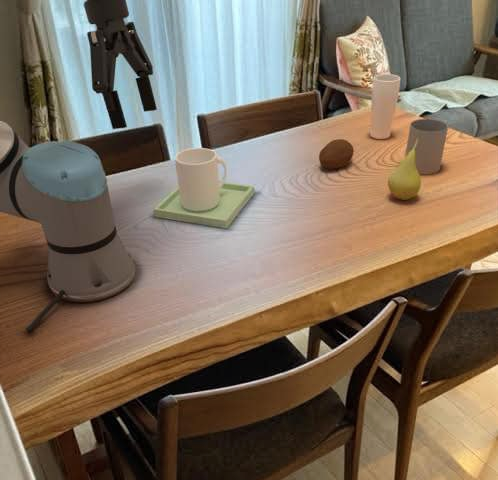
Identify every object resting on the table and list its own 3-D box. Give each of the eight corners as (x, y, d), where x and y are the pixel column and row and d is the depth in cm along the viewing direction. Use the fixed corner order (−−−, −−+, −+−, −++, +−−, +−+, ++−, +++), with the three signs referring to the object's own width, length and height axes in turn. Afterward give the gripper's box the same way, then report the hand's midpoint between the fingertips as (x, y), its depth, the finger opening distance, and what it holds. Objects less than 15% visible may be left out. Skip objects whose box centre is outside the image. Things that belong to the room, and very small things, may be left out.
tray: (226, 228, 110) (225, 220, 108) (154, 216, 114) (153, 209, 113) (254, 193, 121) (254, 185, 120) (188, 184, 126) (187, 176, 125)
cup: (413, 157, 134) (420, 116, 127) (445, 165, 130) (454, 123, 123) (397, 168, 129) (403, 127, 123) (430, 177, 125) (438, 134, 118)
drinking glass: (396, 134, 146) (404, 75, 136) (387, 142, 142) (395, 82, 132) (372, 130, 149) (379, 72, 139) (363, 138, 144) (369, 79, 135)
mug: (240, 198, 118) (237, 150, 112) (196, 216, 113) (191, 168, 106) (215, 186, 124) (212, 140, 117) (172, 203, 118) (166, 156, 111)
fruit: (381, 200, 117) (389, 146, 109) (393, 187, 122) (401, 134, 114) (412, 207, 114) (421, 152, 106) (422, 193, 119) (432, 139, 111)
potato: (311, 168, 131) (312, 142, 127) (337, 156, 136) (339, 131, 132) (332, 175, 127) (333, 150, 123) (358, 163, 132) (360, 138, 128)
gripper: (117, -6, 107) (146, 106, 118) (45, 6, 88) (87, 138, 99) (151, -12, 105) (177, 102, 116) (84, -2, 85) (123, 134, 96)
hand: (136, 119), depth 107 cm, fingers open, 13 cm apart
